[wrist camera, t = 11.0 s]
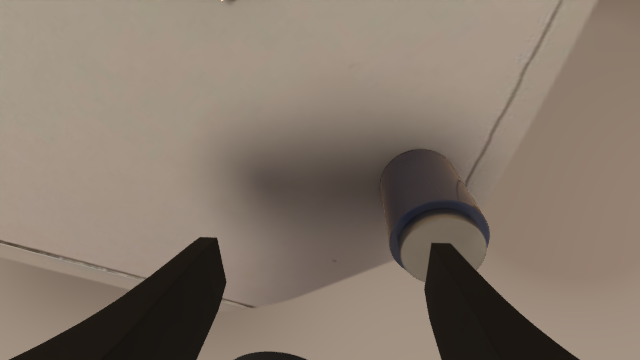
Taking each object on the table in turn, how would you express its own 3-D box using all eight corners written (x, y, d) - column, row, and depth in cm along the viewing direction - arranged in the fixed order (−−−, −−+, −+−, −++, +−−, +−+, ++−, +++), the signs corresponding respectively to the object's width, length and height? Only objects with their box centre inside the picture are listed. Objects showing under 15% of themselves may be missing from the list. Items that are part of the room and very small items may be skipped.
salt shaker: (449, 215, 21) (486, 292, 16) (378, 213, 22) (388, 289, 16) (461, 149, 19) (507, 211, 14) (381, 149, 20) (395, 209, 14)
